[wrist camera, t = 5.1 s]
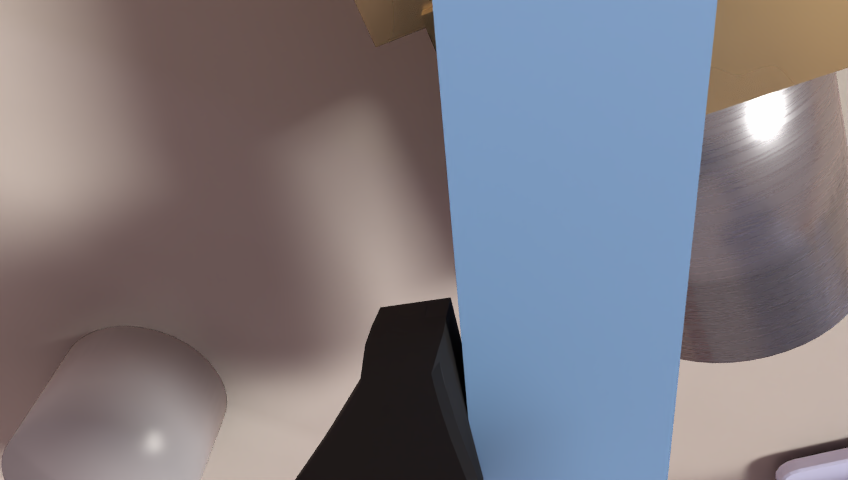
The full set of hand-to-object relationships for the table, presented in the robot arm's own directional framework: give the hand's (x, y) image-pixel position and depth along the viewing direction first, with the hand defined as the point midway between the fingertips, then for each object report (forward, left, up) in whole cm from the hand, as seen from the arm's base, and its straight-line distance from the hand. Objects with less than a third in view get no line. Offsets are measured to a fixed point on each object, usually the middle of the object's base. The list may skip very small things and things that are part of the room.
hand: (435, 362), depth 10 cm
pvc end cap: (-3, +9, -6) cm, 12 cm away
